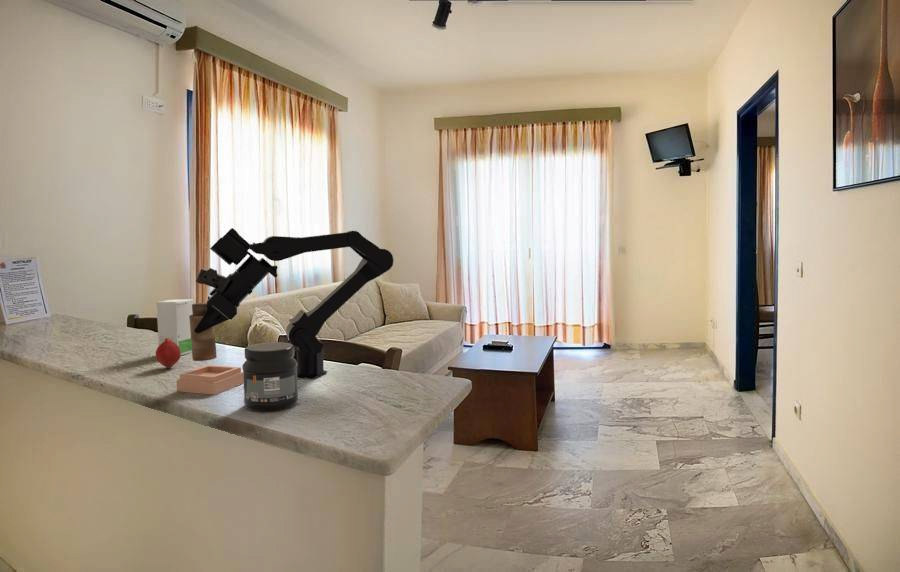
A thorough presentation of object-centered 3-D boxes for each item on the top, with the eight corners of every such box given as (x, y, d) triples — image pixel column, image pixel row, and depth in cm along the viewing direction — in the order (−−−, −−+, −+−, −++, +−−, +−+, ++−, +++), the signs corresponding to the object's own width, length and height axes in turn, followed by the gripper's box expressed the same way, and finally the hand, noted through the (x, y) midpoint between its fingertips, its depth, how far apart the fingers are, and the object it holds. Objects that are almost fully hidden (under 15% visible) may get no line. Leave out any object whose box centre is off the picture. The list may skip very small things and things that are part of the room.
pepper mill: (220, 355, 129) (216, 302, 128) (211, 360, 124) (206, 305, 123) (198, 356, 129) (194, 302, 128) (188, 361, 124) (184, 305, 123)
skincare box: (177, 357, 157) (174, 302, 155) (157, 356, 158) (154, 301, 157) (196, 351, 165) (194, 298, 164) (177, 350, 166) (174, 298, 165)
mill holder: (244, 382, 130) (244, 367, 129) (215, 394, 120) (214, 377, 120) (208, 379, 132) (207, 364, 132) (177, 391, 123) (176, 374, 123)
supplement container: (275, 394, 120) (273, 339, 119) (309, 402, 114) (308, 345, 113) (232, 407, 111) (230, 348, 110) (267, 417, 105) (265, 354, 104)
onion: (156, 366, 145) (154, 336, 145) (181, 364, 148) (179, 334, 147) (156, 371, 140) (154, 340, 140) (181, 369, 143) (180, 338, 142)
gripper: (217, 253, 135) (169, 302, 132) (216, 256, 117) (161, 312, 114) (253, 284, 138) (208, 332, 135) (258, 291, 121) (206, 346, 118)
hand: (196, 330), depth 126 cm, fingers closed on pepper mill, 5 cm apart
